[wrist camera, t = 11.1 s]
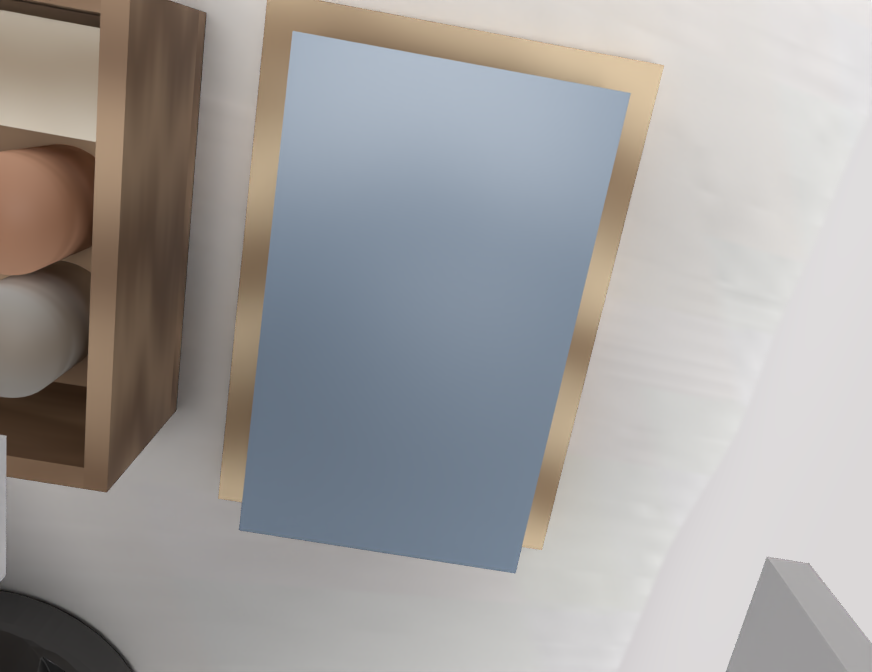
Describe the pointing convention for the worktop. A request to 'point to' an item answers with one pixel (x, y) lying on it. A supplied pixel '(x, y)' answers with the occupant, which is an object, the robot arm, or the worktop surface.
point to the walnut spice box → (93, 229)
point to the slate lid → (420, 298)
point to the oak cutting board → (303, 12)
